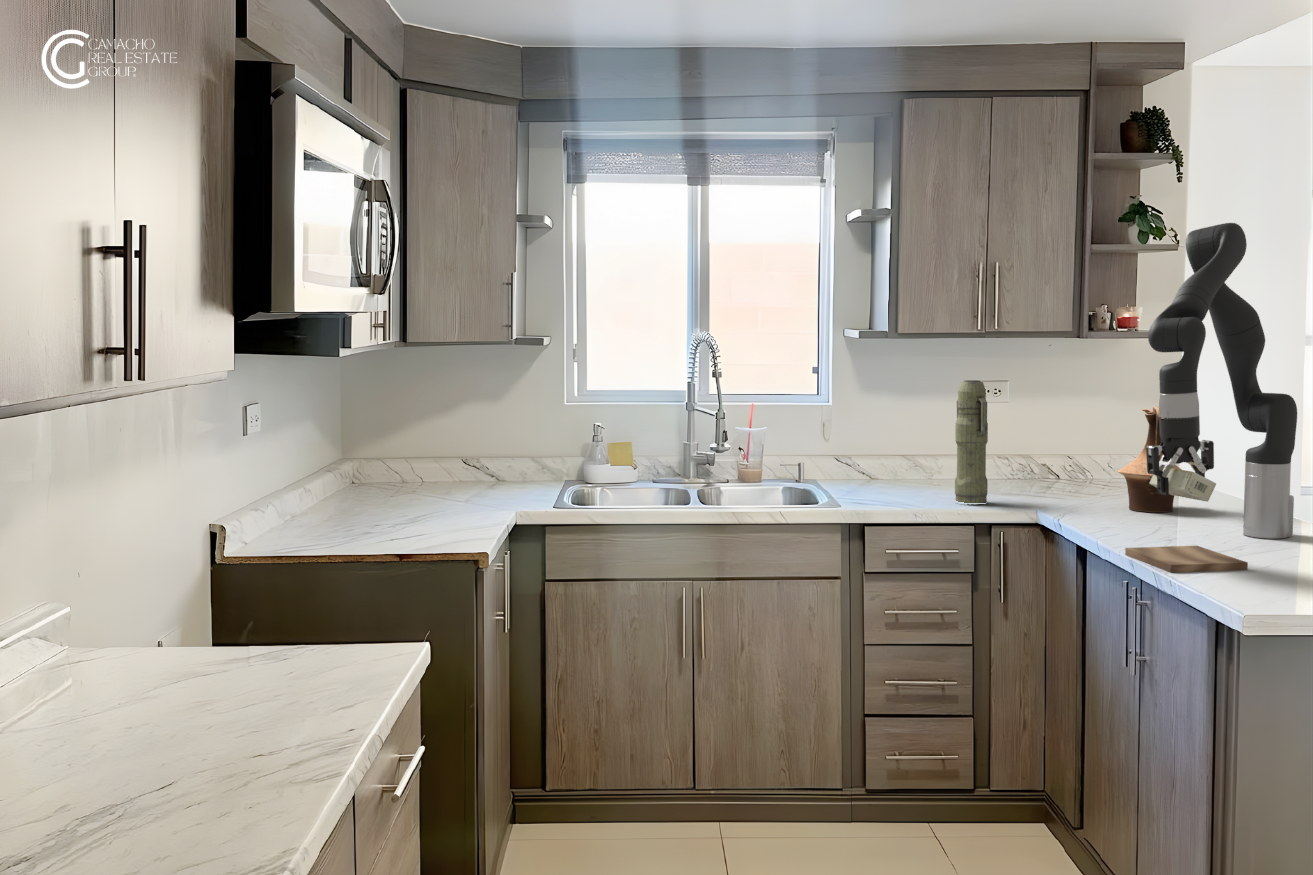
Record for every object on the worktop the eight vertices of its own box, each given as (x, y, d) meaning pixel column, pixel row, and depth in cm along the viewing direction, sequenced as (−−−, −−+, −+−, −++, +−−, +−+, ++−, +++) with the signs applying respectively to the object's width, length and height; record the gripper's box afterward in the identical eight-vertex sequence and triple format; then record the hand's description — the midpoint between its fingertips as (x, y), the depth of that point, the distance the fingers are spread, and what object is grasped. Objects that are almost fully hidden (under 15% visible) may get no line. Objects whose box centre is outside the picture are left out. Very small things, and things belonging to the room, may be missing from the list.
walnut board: (1196, 552, 234) (1196, 545, 234) (1247, 569, 216) (1247, 562, 216) (1125, 554, 233) (1125, 547, 233) (1170, 572, 215) (1170, 564, 215)
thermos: (967, 499, 316) (968, 379, 313) (997, 504, 306) (998, 380, 303) (944, 501, 312) (945, 380, 309) (973, 506, 302) (974, 381, 299)
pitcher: (1194, 515, 281) (1197, 408, 278) (1124, 514, 284) (1126, 408, 282) (1176, 505, 298) (1178, 404, 296) (1110, 504, 301) (1112, 404, 299)
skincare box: (1193, 471, 218) (1156, 464, 230) (1183, 491, 219) (1147, 483, 231) (1218, 484, 220) (1180, 476, 231) (1208, 503, 220) (1171, 495, 232)
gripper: (1198, 410, 229) (1200, 486, 230) (1136, 416, 226) (1139, 493, 228) (1222, 412, 221) (1224, 491, 223) (1158, 418, 219) (1160, 498, 221)
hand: (1181, 492), depth 226 cm, fingers closed on skincare box, 7 cm apart
